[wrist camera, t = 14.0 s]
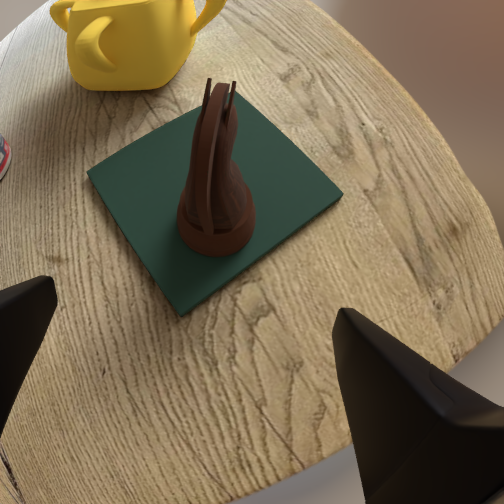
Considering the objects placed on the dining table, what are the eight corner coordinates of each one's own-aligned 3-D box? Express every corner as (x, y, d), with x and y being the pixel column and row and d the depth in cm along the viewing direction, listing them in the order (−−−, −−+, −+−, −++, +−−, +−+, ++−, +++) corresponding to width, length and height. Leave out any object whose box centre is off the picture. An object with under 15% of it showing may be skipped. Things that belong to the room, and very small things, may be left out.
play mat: (341, 198, 21) (344, 193, 21) (181, 317, 18) (180, 315, 17) (234, 95, 24) (234, 89, 23) (88, 176, 20) (85, 171, 20)
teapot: (62, 62, 25) (37, -15, 15) (167, 17, 28) (164, -58, 19) (99, 131, 22) (60, 24, 12) (235, 69, 25) (244, -31, 16)
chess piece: (259, 194, 20) (289, 66, 11) (247, 272, 18) (278, 169, 9) (187, 183, 20) (171, 52, 10) (168, 259, 18) (123, 148, 9)
